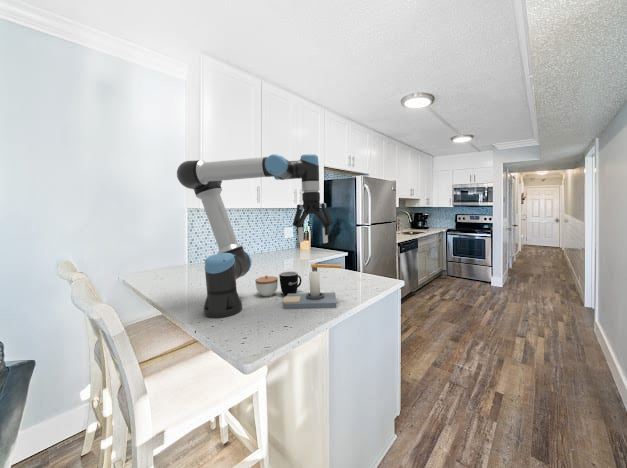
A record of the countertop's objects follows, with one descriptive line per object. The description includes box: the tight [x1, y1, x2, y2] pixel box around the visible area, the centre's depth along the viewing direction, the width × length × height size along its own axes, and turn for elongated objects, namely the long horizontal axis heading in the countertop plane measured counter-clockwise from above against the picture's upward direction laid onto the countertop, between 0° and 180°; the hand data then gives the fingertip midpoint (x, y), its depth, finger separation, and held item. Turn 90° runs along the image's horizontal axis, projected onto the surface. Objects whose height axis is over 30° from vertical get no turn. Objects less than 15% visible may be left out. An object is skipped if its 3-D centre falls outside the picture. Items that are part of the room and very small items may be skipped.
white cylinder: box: [308, 270, 321, 297], centre depth 121 cm, size 4×4×11 cm
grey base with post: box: [282, 267, 337, 310], centre depth 120 cm, size 22×14×14 cm, turn 87°
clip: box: [310, 263, 343, 269], centre depth 123 cm, size 14×3×1 cm, turn 69°
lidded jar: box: [255, 274, 279, 297], centre depth 134 cm, size 11×11×9 cm
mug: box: [278, 271, 302, 297], centre depth 134 cm, size 12×9×10 cm
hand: (313, 242), depth 119 cm, fingers open, 12 cm apart
